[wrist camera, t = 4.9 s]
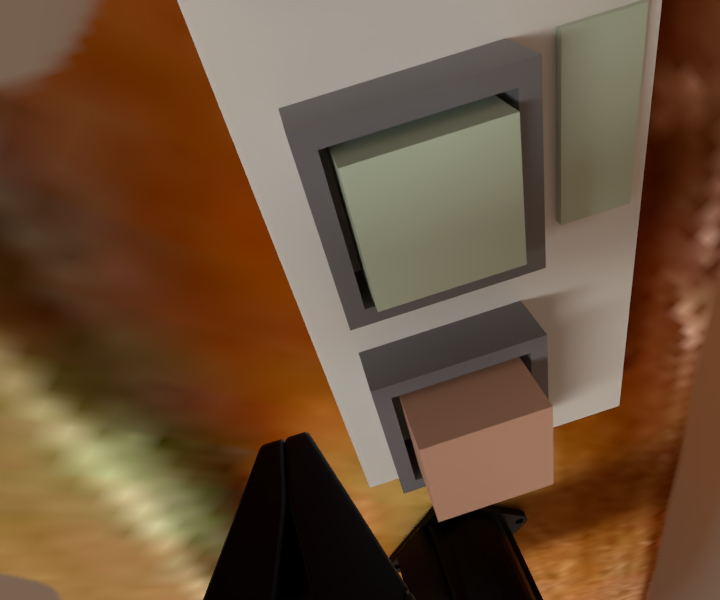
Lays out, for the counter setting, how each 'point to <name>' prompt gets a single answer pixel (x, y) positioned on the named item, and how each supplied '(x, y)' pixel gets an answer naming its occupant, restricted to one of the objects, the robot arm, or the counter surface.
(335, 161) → the sage button
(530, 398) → the terracotta button
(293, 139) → the button panel
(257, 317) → the counter surface
